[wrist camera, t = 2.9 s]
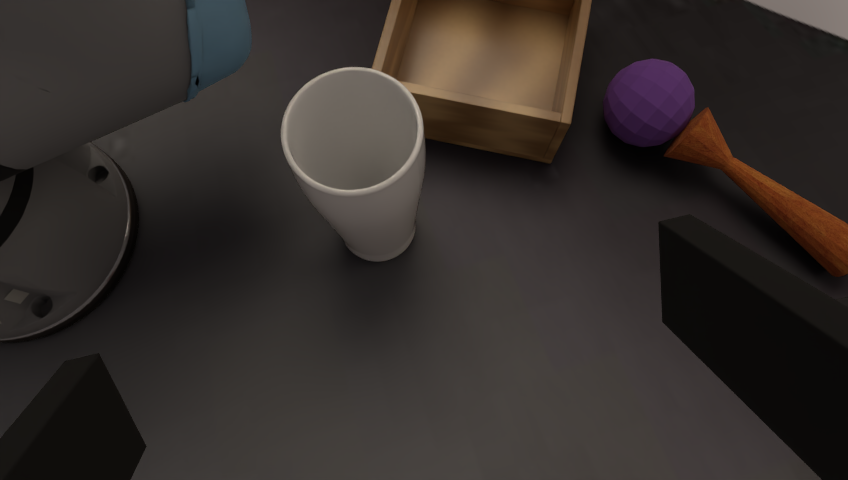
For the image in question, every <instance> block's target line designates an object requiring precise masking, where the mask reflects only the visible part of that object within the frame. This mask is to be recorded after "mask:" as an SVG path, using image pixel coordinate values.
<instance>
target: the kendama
mask: <svg viewBox="0 0 848 480" xmlns="http://www.w3.org/2000/svg"><path fill="white" fill-rule="evenodd" d="M694 108H695V100H694V87H693V86H692V84H691V82H690V80H689V78H688V76H687V74H686V73H685V72H684V71H682V70H681V69H680V68H678V67H677V66H676V65H674V64H673V63H672V62H667V61H663V60H658V59H649V60H643V61H637V62H634V63H633V64H631V65H629V66H628V67H626V68H624V69H622V70H621V71H619V72H618V73H617V75H616V76H615V77H614V78H613V80H612V81H611V82H610V83H609V85H608V87H607V91H606V94H605V97H604V100H603V110H604V119H605V121H606V123H607V125H608V126H609V128H610V130H611V132H612V133H613V134H614V135H615V136H617V137H618V138H619V139H621V140H622V141H623V142H625V143H627V144H631V145H635V146H639V147H648V146H656V145H661V144H663V143H665V142H667V141H669V140H671V139H672V138H674V137H675V138H674V140H673V141H672V143H671V144H670V146H669V147H668V149H667V150H666V152H665V153H664V156H665V157H669V158H674V159H678V160H682V161H687V162H691V163H696V164H700V165H704V166H709V167H713V168H717V169H721V170H722V171H723V172H724V173H725V174H726V175H727V176H728V177H729V178H730V179H732V180H733V181H734V182H735V183H736V184H737V185H738V186H739V187H740V188H741V189H742V190H743V191H744V192H745V193H746V194H747V195H748V196H749V197H750V198H751V199H752V200H754V201H755V202H756V203H757V204H758V205H759V206H760V207H761V208H762V209H763V210H764V211H765V212H766V213H767V214H768V215H769V216H770V217H771V218H772V219H773V220H774V221H776V222H777V223H778V224H779V225H780V226H781V227H782V228H783V229H784V230H785V231H786V232H787V233H788V234H789V235H790V236H791V237H792V238H793V239H794V240H795V241H796V242H798V243H799V244H800V245H801V246H802V247H803V248H804V249H805V250H806V251H807V252H808V253H809V254H810V255H811V256H812V257H813V258H814V259H815V260H816V261H817V262H818V263H820V264H821V265H822V266H823V267H824V268H825V269H826V270H827V271H828V272H829V273H830V274H831V275H832V276H836V277H839V276H844V275H846V274H848V224H847V223H845V222H844V221H842V220H840V219H838V218H837V217H835V216H833V215H832V214H830V213H828V212H826V211H825V210H823V209H821V208H820V207H818V206H816V205H814V204H813V203H811V202H809V201H808V200H806V199H804V198H802V197H801V196H799V195H797V194H796V193H794V192H792V191H790V190H789V189H787V188H785V187H784V186H782V185H780V184H778V183H777V182H775V181H773V180H772V179H770V178H768V177H767V176H765V175H763V174H761V173H760V172H758V171H756V170H755V169H753V168H751V167H749V166H748V165H746V164H744V163H743V162H741V161H739V160H737V159H736V158H734V157H733V156H732V154H731V152H730V150H729V148H728V146H727V144H726V142H725V140H724V138H723V136H722V134H721V132H720V130H719V128H718V126H717V124H716V122H715V120H714V118H713V116H712V114H711V112H710V110H709V108H708V107H707V108H705V109H704V110H703V111H702V112H700V113H699V114H698V115H697V116H696V117H694V118H693V119H692V120H691V121H690V118H691V116H692V113H693V110H694ZM689 121H690V122H689Z"/></svg>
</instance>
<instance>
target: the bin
mask: <svg viewBox="0 0 848 480" xmlns="http://www.w3.org/2000/svg"><path fill="white" fill-rule="evenodd" d="M591 2H592V0H391V4H390V7H389V11H388V14H387V18H386V21H385V25H384V28H383V31H382V35H381V38H380V42H379V45H378V49H377V52H376V55H375V59H374V62H373V66H372V69H374V70H378V71H381V72H383V73H385V74H388V75H390V76H391V77H393V78H395V79H396V80H398V81H399V82H400V83H402V84H403V85H404V86H405V87H406V88H407V89H408V90H409V91H410V93H411V94H412V95H413V97H414V98H415V100H416V102H417V104H418V106H419V108H420V111H421V114H422V119H423V126H424V135H425V138H427V139H432V140H436V141H441V142H446V143H451V144H456V145H461V146H466V147H471V148H476V149H481V150H486V151H490V152H495V153H500V154H505V155H510V156H515V157H520V158H525V159H530V160H535V161H540V162H545V163H549V164H550V163H551V162H552V160H553V158H554V156H555V154H556V152H557V150H558V148H559V146H560V144H561V142H562V140H563V138H564V136H565V134H566V132H567V131H568V129H569V127H570V125H571V120H572V115H573V109H574V103H575V97H576V91H577V85H578V79H579V73H580V67H581V61H582V56H583V50H584V44H585V38H586V32H587V26H588V20H589V14H590V8H591Z"/></svg>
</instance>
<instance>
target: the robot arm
mask: <svg viewBox="0 0 848 480" xmlns="http://www.w3.org/2000/svg"><path fill="white" fill-rule="evenodd" d="M251 44H252V35H251V26H250V21H249V16H248V11H247V7H246V4H245V0H0V342H2V343H16V342H25V341H30V340H35V339H39V338H43V337H46V336H49V335H52V334H54V333H57V332H59V331H61V330H63V329H65V328H67V327H69V326H71V325H73V324H74V323H76V322H78V321H79V320H81V319H82V318H84V317H85V316H86V315H88V314H89V313H90V312H92V311H93V310H94V309H95V308H96V307H97V306H98V305H99V304H100V303H101V302H102V301H103V300H104V299H105V298H106V297H107V296H108V295H109V294H110V293H111V291H112V290H113V289H114V288H115V286H116V285H117V283H118V282H119V280H120V279H121V277H122V276H123V274H124V272H125V270H126V268H127V266H128V264H129V262H130V260H131V257H132V255H133V252H134V249H135V245H136V241H137V236H138V228H139V213H138V205H137V199H136V196H135V193H134V189H133V187H132V185H131V183H130V181H129V179H128V177H127V176H126V174H125V172H124V171H123V170H122V169H121V167H120V166H119V165H118V164H117V163H116V162H115V161H114V160H113V159H112V158H111V157H109V156H108V155H107V154H106V153H104V152H103V151H102V150H101V149H99V148H98V147H97V146H95V145H94V144H92V143H91V141H93V140H96V139H98V138H100V137H102V136H105V135H107V134H109V133H112V132H114V131H116V130H118V129H121V128H123V127H125V126H127V125H130V124H132V123H134V122H137V121H139V120H141V119H143V118H146V117H148V116H150V115H153V114H155V113H157V112H159V111H162V110H164V109H166V108H168V107H171V106H173V105H175V104H178V103H180V102H182V101H183V102H187V101H190V99H193V98H194V97H195V96H196V95H197V93H198V92H199V91H201V90H203V89H204V88H206V87H208V86H210V85H212V84H214V83H216V82H218V81H219V80H221V79H223V78H225V77H227V76H229V75H231V74H233V73H235V72H236V71H237V70H238V69H239V68H240V67H241V66H242V65H243V64H244V62H245V61H246V59H247V58H248V56H249V53H250V50H251ZM659 247H660V273H661V298H662V322H663V323H664V324H665V325H666V326H667V327H668V328H669V329H670V330H671V331H672V332H673V333H674V334H675V335H676V336H677V337H678V338H679V339H680V340H681V341H682V342H683V343H684V344H685V345H686V346H687V347H688V348H689V349H690V350H691V351H692V352H693V353H694V354H695V355H696V356H697V357H698V358H699V359H700V360H701V361H702V362H703V363H705V364H706V365H707V366H708V367H709V368H710V369H711V370H712V371H713V372H714V373H715V374H716V375H717V376H718V377H719V378H720V379H721V380H722V381H723V382H724V383H725V384H726V385H727V386H728V387H729V388H730V389H731V390H732V391H733V392H734V393H735V394H736V395H737V396H738V397H739V398H740V399H741V400H742V401H743V402H744V403H745V404H746V405H747V406H748V407H749V408H750V409H751V410H752V411H753V412H754V413H755V414H756V415H757V416H758V417H759V418H760V419H761V420H762V421H763V422H764V423H765V424H766V425H767V426H768V427H769V428H770V429H771V430H772V431H773V432H774V433H775V434H776V435H777V436H778V437H779V438H780V439H781V440H782V441H783V442H784V443H785V444H787V445H788V446H789V447H790V448H791V449H792V450H793V451H794V452H795V453H796V454H797V455H798V456H799V457H800V458H801V459H802V460H803V461H804V462H805V463H806V464H807V465H808V466H809V467H810V468H811V469H812V470H813V471H814V472H815V473H816V474H817V475H818V476H819V477H820V478H821V479H822V480H848V297H845V298H841V299H836V300H835V299H833V298H832V297H830V296H828V295H827V294H825V293H823V292H821V291H820V290H818V289H816V288H815V287H813V286H811V285H810V284H808V283H806V282H804V281H803V280H801V279H799V278H798V277H796V276H794V275H792V274H791V273H789V272H787V271H786V270H784V269H782V268H781V267H779V266H777V265H775V264H774V263H772V262H770V261H769V260H767V259H765V258H764V257H762V256H760V255H758V254H757V253H755V252H753V251H752V250H750V249H748V248H746V247H745V246H743V245H741V244H740V243H738V242H736V241H735V240H733V239H731V238H729V237H728V236H726V235H724V234H723V233H721V232H719V231H718V230H716V229H714V228H712V227H711V226H709V225H707V224H706V223H704V222H702V221H700V220H699V219H697V218H695V217H694V216H692V215H690V214H689V215H685V216H681V217H677V218H672V219H668V220H664V221H660V222H659ZM145 448H146V444H145V443H144V441H143V439H142V437H141V435H140V433H139V431H138V429H137V427H136V425H135V423H134V421H133V419H132V417H131V415H130V413H129V411H128V409H127V407H126V405H125V403H124V401H123V399H122V397H121V396H120V394H119V392H118V390H117V388H116V386H115V384H114V382H113V380H112V378H111V376H110V374H109V372H108V370H107V368H106V366H105V364H104V362H103V360H102V358H101V356H100V354H99V353H98V354H93V355H89V356H85V357H81V358H76V359H72V360H68V361H65V362H64V363H63V364H62V365H61V367H60V368H59V369H58V370H57V371H56V373H55V374H54V375H53V376H52V377H51V379H50V380H49V381H48V382H47V383H46V385H45V386H44V387H43V388H42V389H41V390H40V392H39V393H38V394H37V395H36V396H35V398H34V399H33V400H32V401H31V402H30V404H29V405H28V406H27V407H26V408H25V410H24V411H23V412H22V413H21V414H20V416H19V417H18V418H17V419H16V420H15V422H14V423H13V424H12V425H11V426H10V427H9V429H8V430H7V431H6V432H5V433H4V435H3V436H2V437H1V438H0V480H130V479H131V477H132V475H133V473H134V471H135V469H136V467H137V465H138V463H139V461H140V459H141V456H142V454H143V452H144V450H145Z"/></svg>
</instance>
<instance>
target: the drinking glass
mask: <svg viewBox="0 0 848 480" xmlns="http://www.w3.org/2000/svg"><path fill="white" fill-rule="evenodd" d="M281 144H282V148H283V152H284V155H285V158H286V160H287V162H288V164H289V166H290V169H291V171H292V173H293V175H294V177H295V179H296V181H297V183H298V185H299V186H300V188H301V190H302V191H303V193H304V194H305V196H306V197H307V199H308V200H309V202H310V203H311V204H312V205H313V207H314V208H315V209H316V210H317V211H318V212H319V214H320V215H321V216H322V217H323V218H324V219H325V220H326V221H327V222H328V223H329V224H330V226H331V227H332V228H333V229H334V230H335V231H336V232H337V233H338V234H339V236H340V237H341V238H342V239H343V241H344V243H345V244H346V246H347V247H348V249H349V250H350V251H351V252H352V253H354V254H355V255H357V256H358V257H360V258H362V259H365V260H368V261H375V262H380V261H387V260H390V259H393V258H395V257H397V256H398V255H400V254H401V253H403V252H404V251H405V250H406V249H407V247H408V246H409V245H410V243H411V241H412V240H413V237H414V234H415V230H416V215H417V210H418V205H419V200H420V195H421V190H422V185H423V180H424V174H425V163H426V146H425V135H424V126H423V119H422V114H421V111H420V108H419V106H418V104H417V102H416V100H415V98H414V97H413V95H412V94H411V93H410V91H409V90H408V89H407V88H406V87H405V86H404V85H403V84H402V83H400V82H399V81H398V80H396V79H395V78H393V77H391V76H390V75H388V74H385V73H383V72H381V71H378V70H374V69H370V68H363V67H346V68H340V69H335V70H331V71H329V72H326V73H323V74H321V75H319V76H317V77H315V78H314V79H312V80H311V81H309V82H308V83H307V84H305V85H304V86H303V87H302V88H301V89H300V90H299V91H298V92H297V93H296V94H295V96H294V97H293V98H292V100H291V101H290V103H289V105H288V107H287V108H286V111H285V113H284V116H283V120H282V125H281Z"/></svg>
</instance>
